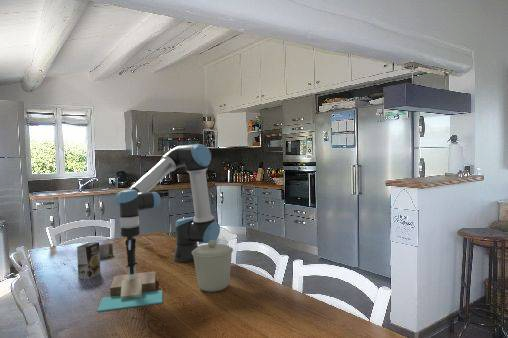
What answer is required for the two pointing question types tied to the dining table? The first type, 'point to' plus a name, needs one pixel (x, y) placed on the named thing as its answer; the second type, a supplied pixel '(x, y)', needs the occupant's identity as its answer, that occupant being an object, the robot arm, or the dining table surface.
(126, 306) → the teal mat
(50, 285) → the dining table surface
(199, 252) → the canister
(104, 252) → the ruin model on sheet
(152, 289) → the walnut board
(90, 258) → the coffee box
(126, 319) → the dining table surface
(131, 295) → the birch tile
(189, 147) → the robot arm
